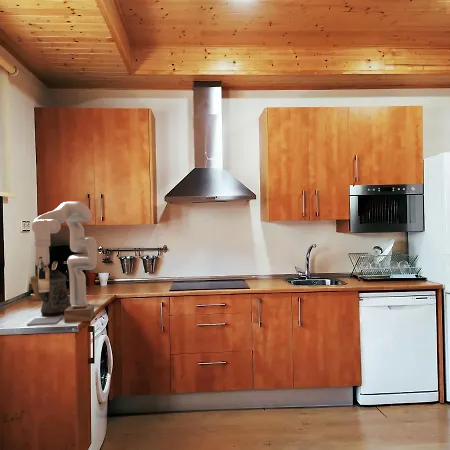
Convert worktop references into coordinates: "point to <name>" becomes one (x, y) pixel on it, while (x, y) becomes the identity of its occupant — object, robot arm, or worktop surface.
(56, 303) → the beer stein
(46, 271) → the maple plug
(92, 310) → the walnut holder
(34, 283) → the plant pot
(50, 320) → the slate mat
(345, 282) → the worktop surface
